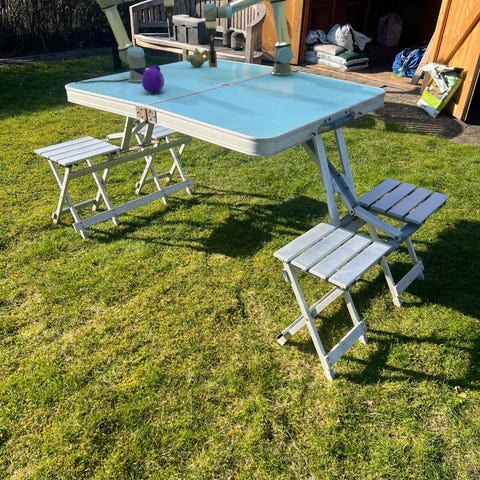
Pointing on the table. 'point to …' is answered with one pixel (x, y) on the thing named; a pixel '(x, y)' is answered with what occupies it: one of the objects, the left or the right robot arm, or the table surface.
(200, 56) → the tan lumpy piece
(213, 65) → the block
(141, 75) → the left robot arm
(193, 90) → the table surface
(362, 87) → the table surface
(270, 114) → the table surface
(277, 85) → the table surface
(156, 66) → the toy
